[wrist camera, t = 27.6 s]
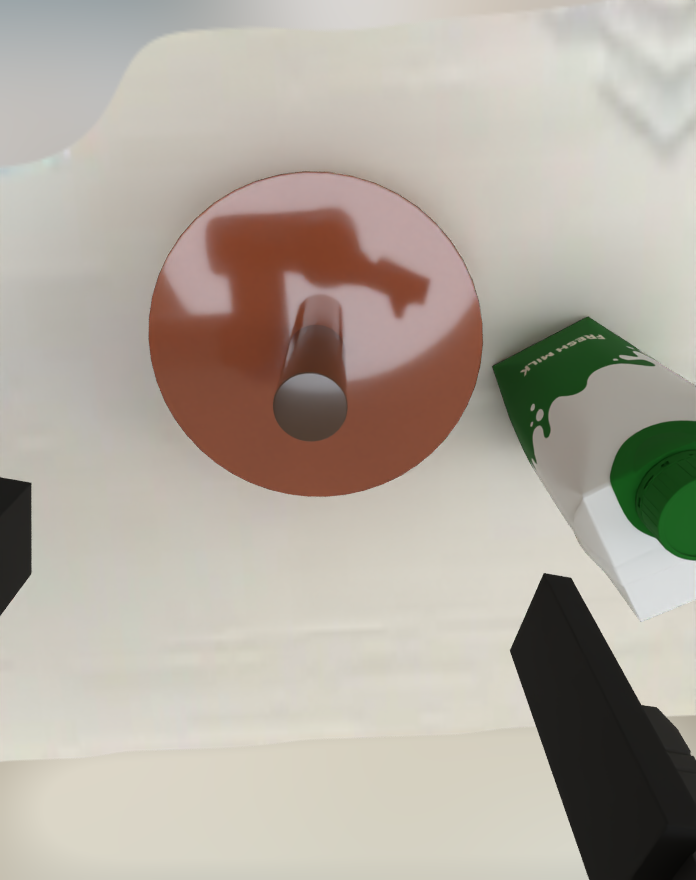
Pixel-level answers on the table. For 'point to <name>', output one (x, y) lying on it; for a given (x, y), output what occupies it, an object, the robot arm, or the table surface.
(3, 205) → the table surface
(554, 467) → the milk carton
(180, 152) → the table surface
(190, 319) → the lid
